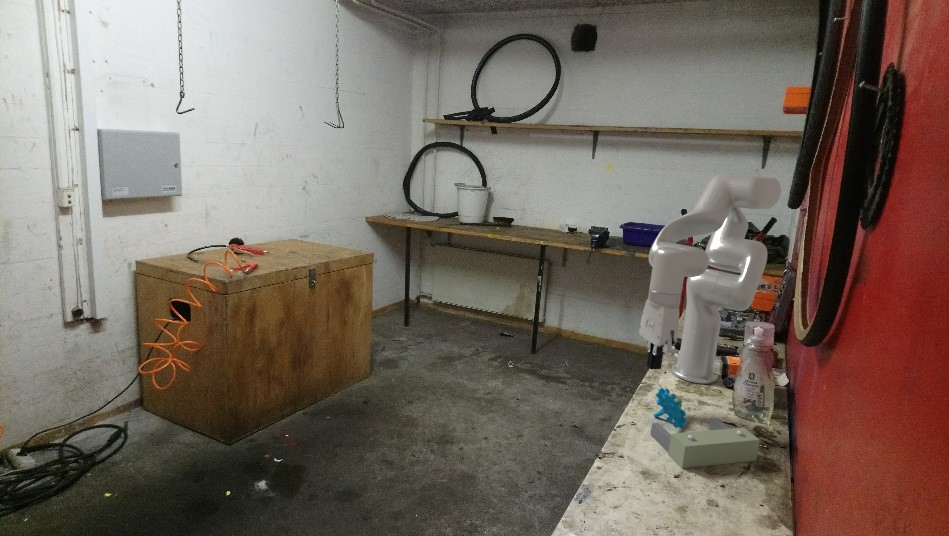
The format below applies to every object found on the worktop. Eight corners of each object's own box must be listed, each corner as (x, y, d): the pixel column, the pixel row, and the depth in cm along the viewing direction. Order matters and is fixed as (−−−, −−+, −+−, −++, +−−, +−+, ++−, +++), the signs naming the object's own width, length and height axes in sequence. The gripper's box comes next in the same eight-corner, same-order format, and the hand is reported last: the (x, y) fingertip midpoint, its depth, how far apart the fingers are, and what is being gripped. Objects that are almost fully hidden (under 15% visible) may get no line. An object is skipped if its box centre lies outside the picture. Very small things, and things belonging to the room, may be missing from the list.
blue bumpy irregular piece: (677, 430, 125) (654, 390, 129) (656, 439, 129) (634, 400, 132) (696, 420, 133) (674, 383, 137) (676, 430, 137) (655, 393, 140)
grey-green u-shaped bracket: (648, 435, 126) (651, 412, 124) (716, 429, 130) (720, 407, 129) (681, 468, 113) (685, 443, 112) (755, 460, 118) (760, 437, 116)
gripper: (635, 289, 141) (625, 357, 145) (667, 306, 127) (656, 380, 131) (660, 290, 143) (650, 356, 147) (696, 306, 129) (684, 379, 132)
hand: (653, 367), depth 139 cm, fingers closed
